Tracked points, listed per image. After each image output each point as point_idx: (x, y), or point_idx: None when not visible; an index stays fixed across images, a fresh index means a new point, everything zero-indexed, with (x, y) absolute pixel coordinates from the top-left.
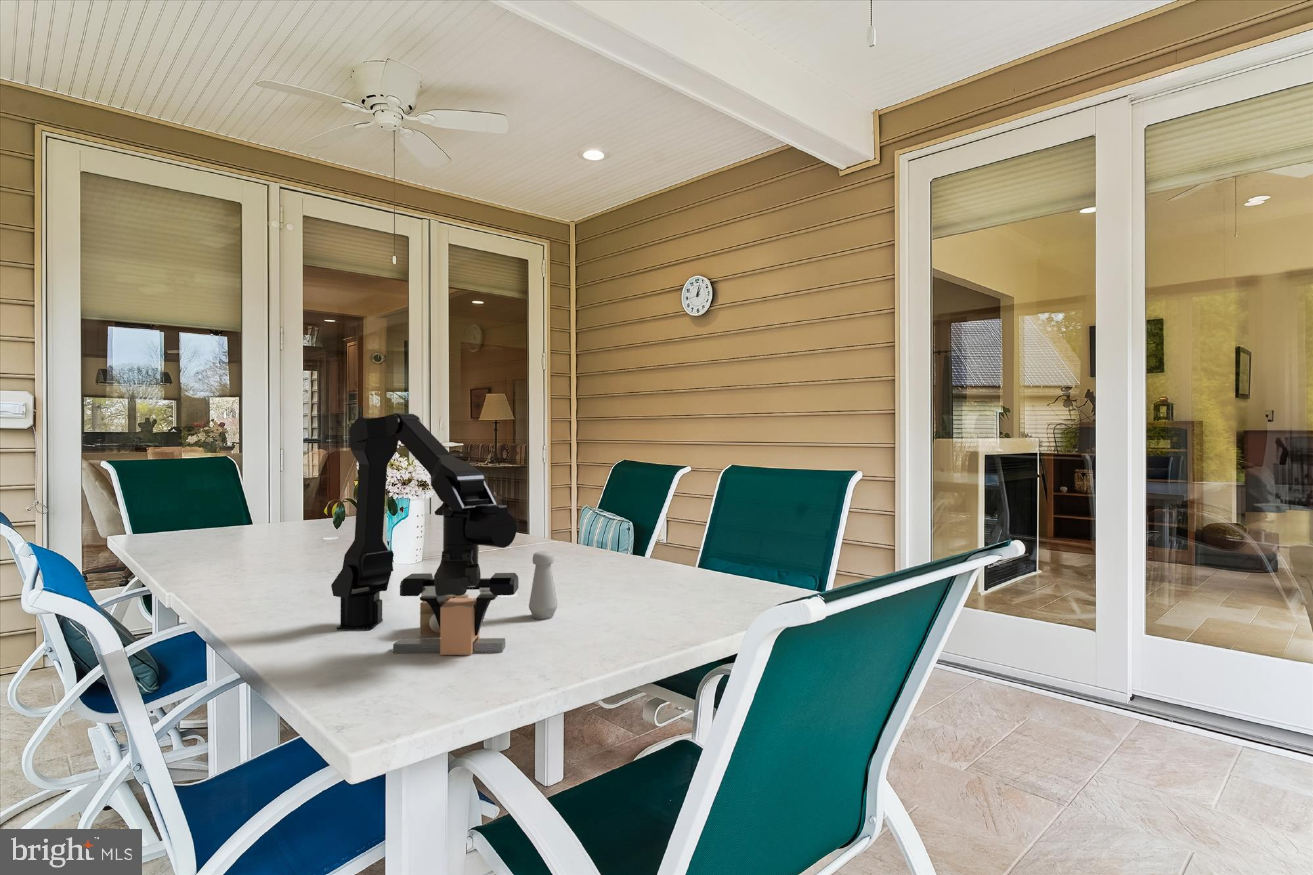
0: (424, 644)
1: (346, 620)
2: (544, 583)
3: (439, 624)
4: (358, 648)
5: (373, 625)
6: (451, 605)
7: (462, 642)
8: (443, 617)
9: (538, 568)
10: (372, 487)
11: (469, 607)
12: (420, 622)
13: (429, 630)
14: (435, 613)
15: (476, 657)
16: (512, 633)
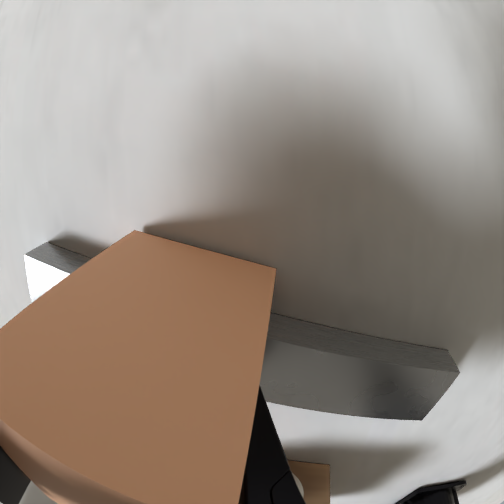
0: (349, 355)
1: (453, 498)
2: (27, 489)
3: (269, 431)
4: (494, 399)
5: (410, 497)
6: None
7: (144, 262)
8: (219, 423)
9: None
10: None
11: None
12: (329, 498)
13: (303, 476)
14: (292, 494)
15: (115, 200)
16: None
